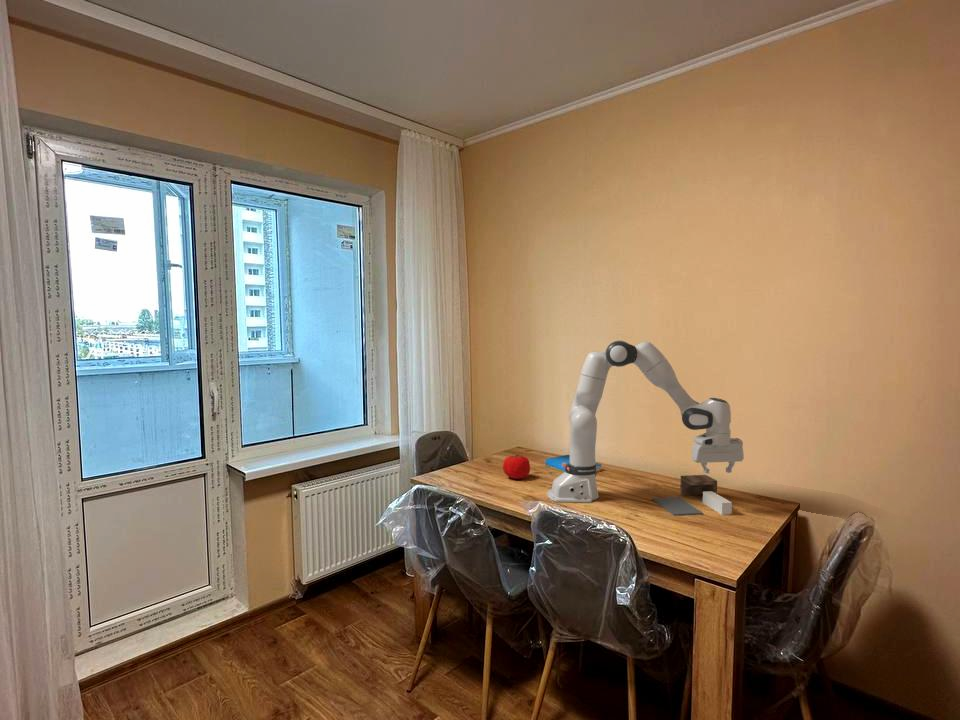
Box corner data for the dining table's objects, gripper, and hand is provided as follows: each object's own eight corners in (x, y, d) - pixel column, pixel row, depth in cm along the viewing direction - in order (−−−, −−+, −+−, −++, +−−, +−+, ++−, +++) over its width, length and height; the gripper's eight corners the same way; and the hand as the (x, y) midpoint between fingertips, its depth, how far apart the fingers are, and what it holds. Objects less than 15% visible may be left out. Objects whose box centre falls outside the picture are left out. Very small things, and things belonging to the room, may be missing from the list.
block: (721, 515, 194) (722, 502, 194) (702, 503, 208) (702, 491, 208) (731, 515, 194) (731, 502, 194) (711, 503, 208) (711, 491, 208)
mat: (673, 515, 193) (673, 514, 193) (652, 499, 212) (652, 498, 212) (703, 514, 195) (703, 512, 195) (678, 498, 213) (678, 497, 213)
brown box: (691, 501, 209) (691, 481, 209) (680, 494, 218) (680, 475, 218) (716, 500, 210) (717, 480, 210) (705, 493, 219) (705, 474, 219)
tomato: (531, 481, 239) (530, 458, 239) (503, 481, 239) (503, 458, 239) (529, 474, 251) (528, 451, 251) (502, 474, 252) (502, 452, 251)
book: (568, 454, 278) (601, 463, 257) (568, 462, 278) (602, 471, 257) (544, 458, 269) (577, 468, 248) (544, 466, 269) (577, 477, 248)
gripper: (737, 436, 204) (737, 469, 204) (690, 437, 202) (689, 471, 202) (747, 439, 197) (746, 473, 198) (698, 441, 195) (697, 475, 196)
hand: (717, 472), depth 200 cm, fingers open, 8 cm apart
